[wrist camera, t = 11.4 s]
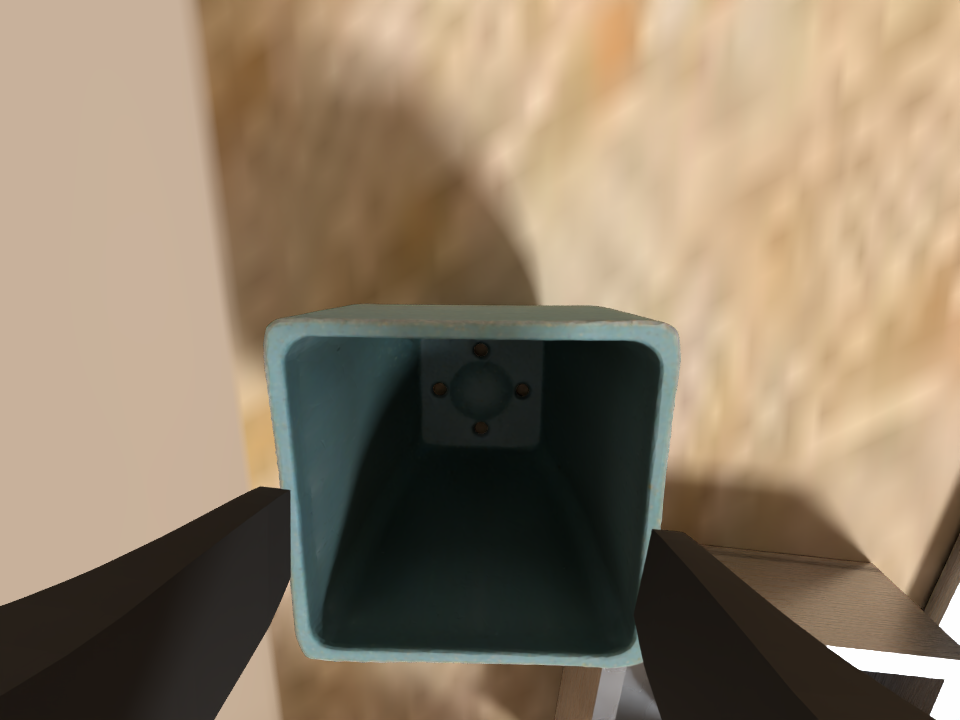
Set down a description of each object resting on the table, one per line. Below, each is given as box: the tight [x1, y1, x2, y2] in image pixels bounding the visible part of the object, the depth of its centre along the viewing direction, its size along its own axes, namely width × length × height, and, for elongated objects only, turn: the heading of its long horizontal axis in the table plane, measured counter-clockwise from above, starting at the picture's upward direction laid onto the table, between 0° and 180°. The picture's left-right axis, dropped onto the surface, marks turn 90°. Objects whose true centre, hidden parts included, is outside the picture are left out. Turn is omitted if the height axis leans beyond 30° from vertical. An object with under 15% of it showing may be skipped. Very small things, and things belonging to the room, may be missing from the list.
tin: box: [554, 545, 960, 720], centre depth 21 cm, size 12×12×5 cm
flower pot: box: [263, 304, 681, 668], centre depth 16 cm, size 9×9×9 cm
